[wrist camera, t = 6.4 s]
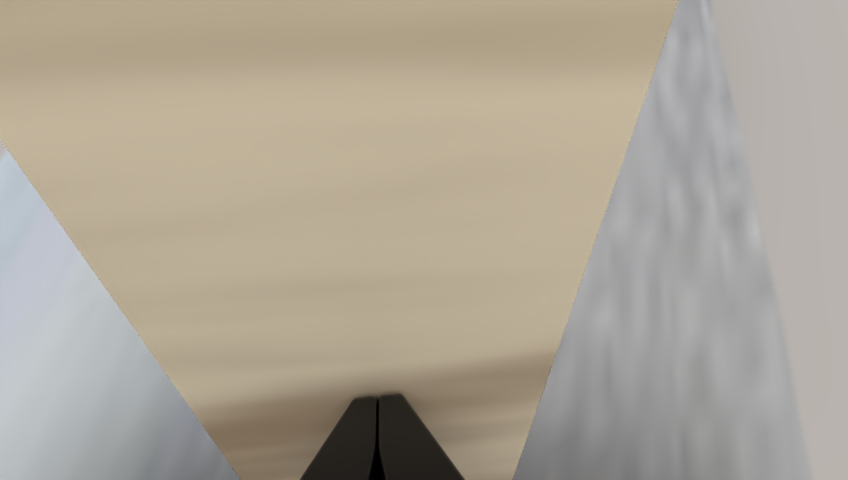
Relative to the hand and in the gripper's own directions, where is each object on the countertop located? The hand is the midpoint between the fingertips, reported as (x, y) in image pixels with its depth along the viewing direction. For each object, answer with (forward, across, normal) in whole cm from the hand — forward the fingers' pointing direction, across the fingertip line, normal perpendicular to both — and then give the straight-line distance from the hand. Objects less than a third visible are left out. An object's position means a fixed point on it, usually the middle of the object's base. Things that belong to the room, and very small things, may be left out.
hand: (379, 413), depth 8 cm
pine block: (+4, 0, -4) cm, 6 cm away
